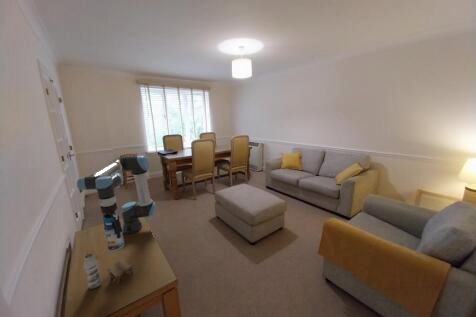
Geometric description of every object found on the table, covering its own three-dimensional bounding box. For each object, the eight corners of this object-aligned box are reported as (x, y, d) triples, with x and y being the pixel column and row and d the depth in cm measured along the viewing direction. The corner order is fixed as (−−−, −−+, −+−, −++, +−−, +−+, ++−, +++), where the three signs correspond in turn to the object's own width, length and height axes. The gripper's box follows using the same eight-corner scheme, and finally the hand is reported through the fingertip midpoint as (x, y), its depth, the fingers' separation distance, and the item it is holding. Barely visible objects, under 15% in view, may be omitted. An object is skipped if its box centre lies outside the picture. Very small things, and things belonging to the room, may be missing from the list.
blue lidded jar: (126, 246, 114) (121, 215, 110) (109, 253, 109) (103, 221, 104) (122, 240, 120) (117, 210, 116) (106, 246, 115) (100, 215, 110)
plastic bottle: (94, 280, 117) (87, 251, 112) (105, 281, 116) (98, 252, 112) (85, 290, 111) (77, 259, 106) (96, 291, 110) (89, 260, 105)
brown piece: (126, 267, 126) (124, 258, 124) (134, 274, 121) (133, 264, 119) (109, 278, 118) (107, 268, 116) (117, 286, 113) (115, 275, 111)
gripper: (92, 202, 111) (99, 238, 116) (110, 211, 100) (117, 250, 105) (106, 197, 117) (113, 231, 122) (125, 205, 106) (131, 242, 111)
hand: (115, 240), depth 114 cm, fingers closed on blue lidded jar, 8 cm apart
